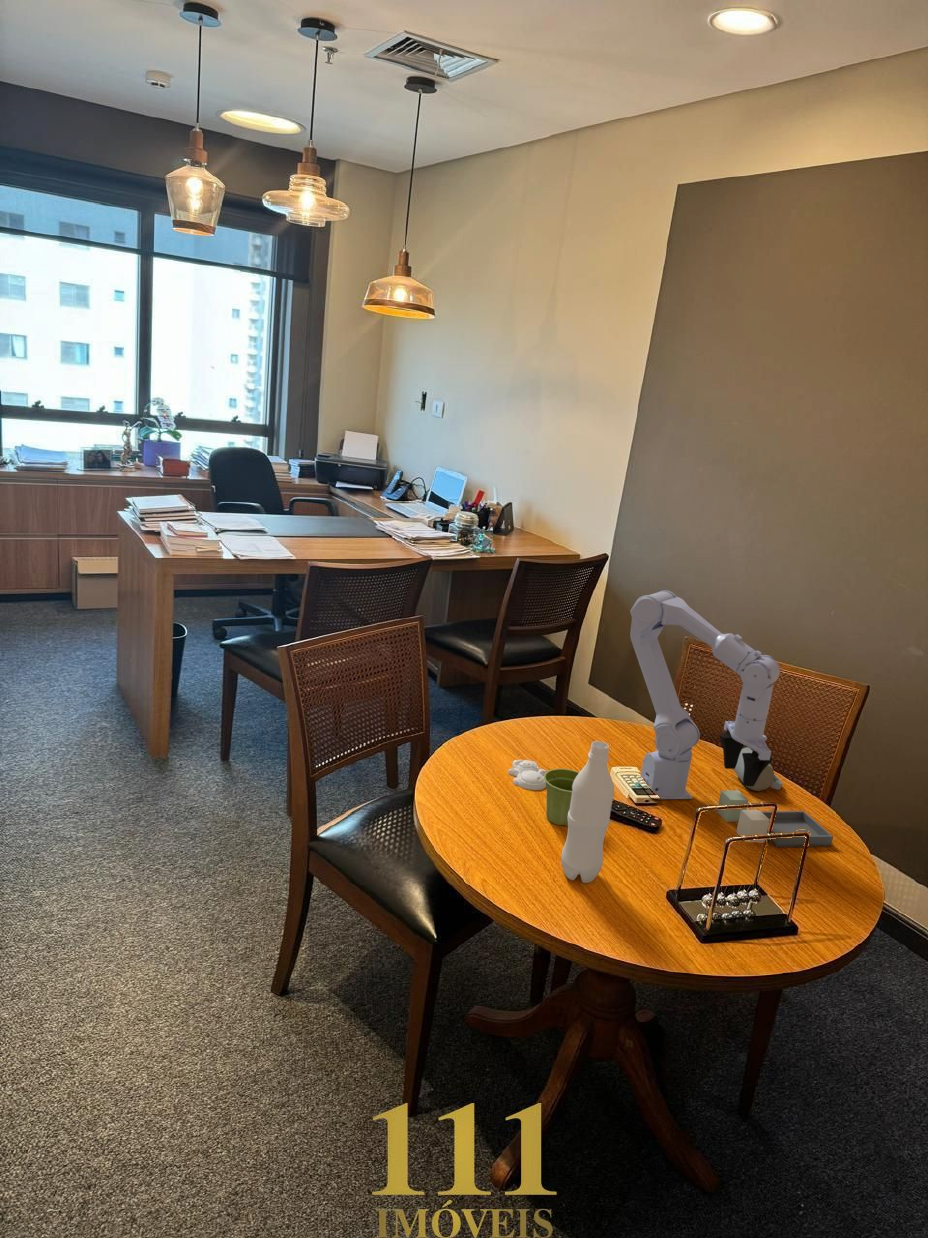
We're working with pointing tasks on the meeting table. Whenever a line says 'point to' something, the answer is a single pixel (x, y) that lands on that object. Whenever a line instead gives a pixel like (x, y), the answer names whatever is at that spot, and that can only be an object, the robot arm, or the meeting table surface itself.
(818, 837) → the tray
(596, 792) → the water bottle
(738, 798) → the sage block
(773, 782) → the ceramic mug
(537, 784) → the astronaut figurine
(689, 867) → the meeting table surface
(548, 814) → the plant pot
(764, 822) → the grey block
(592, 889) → the meeting table surface
